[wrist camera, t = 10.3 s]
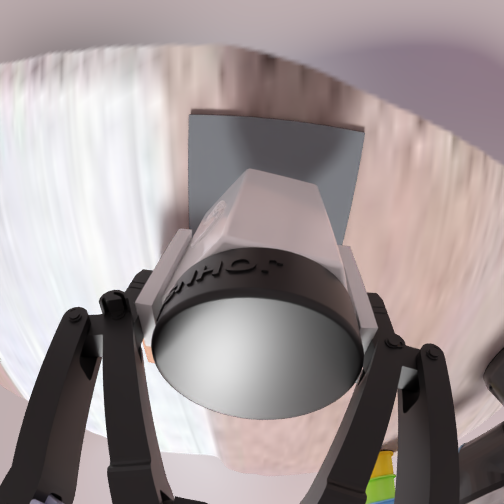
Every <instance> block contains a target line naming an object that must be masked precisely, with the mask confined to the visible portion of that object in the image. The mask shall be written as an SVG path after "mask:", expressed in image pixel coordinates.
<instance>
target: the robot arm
mask: <svg viewBox="0 0 504 504" xmlns="http://www.w3.org/2000/svg"><path fill="white" fill-rule="evenodd" d="M191 240H192V230H191V229H180V228H179V230H178V231H177V233H176V234H175V236H174V238H173V239H172V241H171V242H170V244H169V246H168V247H167V249H166V250H165V252H164V254H163V255H162V257H161V259H160V260H159V262H158V264H157V265H156V267H155V269H154V270H153V271H151V270H144V269H143V270H142V271H141V272H139V273H138V274H136V276H135V277H134V279H133V280H132V282H131V283H130V285H129V288H127V290H126V291H125V292H123V291H120V290H112V291H108V292H107V293H105V294H103V295H102V296H101V297H100V300H99V304H100V307H101V310H102V313H103V314H100V315H88V313H87V310H85V309H84V308H81V307H74V308H72V309H69V310H68V311H67V312H66V313H65V314H64V315H63V317H62V319H61V322H60V324H59V326H58V328H57V330H56V333H55V335H54V337H53V339H52V342H51V344H50V346H49V349H48V351H47V354H46V356H45V359H44V361H43V364H42V366H41V369H40V372H39V374H38V377H37V380H36V382H35V385H34V388H33V391H32V394H31V397H30V400H29V403H28V406H27V409H26V412H25V416H24V419H23V423H22V427H21V430H20V433H19V437H18V441H17V446H16V449H15V454H14V459H13V463H12V467H11V468H10V470H9V472H8V474H7V475H6V477H5V478H4V480H3V482H2V484H1V485H0V504H72V503H73V500H74V496H75V491H76V485H77V477H78V470H79V462H80V456H81V450H82V444H83V438H84V433H85V428H86V423H87V418H88V413H89V408H90V404H91V399H92V395H93V391H94V387H95V383H96V379H97V375H98V371H99V367H100V363H101V360H102V357H103V390H104V407H105V420H106V430H107V439H108V447H109V455H110V466H109V467H108V469H107V476H108V482H109V488H110V493H111V498H112V503H113V504H207V503H205V502H200V501H195V500H190V499H184V498H180V497H176V496H175V499H174V496H173V493H172V490H171V488H170V485H169V483H168V481H167V478H166V474H165V471H164V467H163V462H162V458H161V454H160V450H159V446H158V441H157V437H156V432H155V427H154V422H153V417H152V412H151V406H150V401H149V395H148V389H147V382H146V376H145V369H144V361H143V353H142V348H141V343H142V341H143V339H144V341H145V345H146V346H150V347H151V339H152V334H153V331H154V328H155V326H156V323H157V322H156V320H157V317H158V315H159V313H160V310H161V307H162V297H163V295H164V293H165V291H166V289H167V287H168V285H169V283H170V281H171V279H172V277H173V275H174V273H175V271H176V269H177V267H178V265H179V263H180V261H181V259H182V257H183V255H184V253H185V251H186V249H187V247H188V245H189V244H190V242H191ZM338 248H339V252H340V255H341V258H342V262H343V265H344V270H345V276H346V283H347V289H348V293H349V295H350V297H351V300H352V303H353V307H354V311H355V315H356V319H357V323H358V327H359V331H360V335H361V340H362V344H363V349H364V362H363V370H362V371H361V373H360V375H359V377H358V379H357V380H356V382H355V383H357V384H356V387H355V390H354V392H353V395H352V398H351V400H350V403H349V405H348V408H347V410H346V413H345V415H344V418H343V420H342V422H341V425H340V427H339V429H338V432H337V434H336V436H335V439H334V441H333V443H332V445H331V447H330V449H329V452H328V454H327V456H326V458H325V460H324V462H323V464H322V466H321V468H320V470H319V472H318V474H317V476H316V478H315V480H314V482H313V484H312V485H311V487H310V489H309V491H308V493H307V494H306V496H305V497H304V498H303V500H302V501H301V502H300V504H365V503H366V500H367V495H366V488H367V485H368V483H369V480H370V477H371V475H372V472H373V469H374V467H375V464H376V461H377V458H378V455H379V452H380V449H381V446H382V443H383V440H384V437H385V434H386V430H387V427H388V423H389V420H390V416H391V413H392V409H393V405H394V401H395V397H396V393H397V389H398V459H397V476H396V488H395V498H394V504H504V421H503V422H502V423H500V424H498V425H497V426H495V427H494V428H492V429H490V430H489V431H487V432H486V433H484V434H482V435H480V436H479V437H477V438H475V439H473V440H471V441H470V442H468V443H464V444H463V445H461V446H460V447H459V448H458V439H457V429H456V420H455V412H454V405H453V398H452V392H451V386H450V381H449V375H448V370H447V365H446V361H445V356H444V353H443V351H442V350H441V349H440V348H439V347H438V346H436V345H434V344H425V345H423V346H422V348H421V349H420V350H419V349H416V348H412V347H409V346H406V345H405V342H404V340H403V339H402V338H401V337H400V336H399V335H397V334H395V333H394V330H393V327H392V324H391V321H390V319H389V316H388V314H387V310H386V308H385V305H384V302H383V300H382V299H381V298H380V296H379V295H378V294H377V293H367V292H366V289H365V286H364V284H363V281H362V278H361V275H360V272H359V269H358V267H357V264H356V261H355V259H354V256H353V253H352V250H351V248H350V246H344V245H338ZM484 381H485V384H486V386H487V388H488V390H489V391H490V392H491V393H492V394H493V395H494V396H495V397H496V398H497V399H498V400H499V401H500V402H501V404H502V405H503V406H504V349H503V350H502V351H501V352H500V353H499V354H498V355H497V356H496V357H495V358H494V359H493V361H492V362H491V363H490V365H489V366H488V368H487V369H486V371H485V374H484Z"/></svg>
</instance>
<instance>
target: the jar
mask: <svg viewBox="0 0 504 504" xmlns="http://www.w3.org/2000/svg"><path fill="white" fill-rule="evenodd" d="M156 322H157V323H156V326H155V328H154V331H153V334H152V339H151V350H152V355H153V359H154V362H155V364H156V366H157V368H158V370H159V372H160V373H161V375H162V376H163V378H164V379H165V380H166V381H167V382H168V383H169V384H170V385H171V386H172V387H173V388H174V389H175V390H176V391H178V392H179V393H180V394H182V395H183V396H184V397H186V398H188V399H189V400H191V401H193V402H194V403H196V404H198V405H200V406H203V407H205V408H207V409H210V410H212V411H215V412H218V413H222V414H225V415H229V416H234V417H239V418H246V419H257V420H274V419H285V418H292V417H297V416H301V415H305V414H308V413H311V412H314V411H317V410H319V409H322V408H324V407H326V406H328V405H330V404H331V403H333V402H335V401H336V400H338V399H339V398H341V397H342V396H343V395H344V394H345V393H346V392H347V391H348V390H349V389H350V388H351V387H352V386H353V385H354V383H355V382H356V380H357V379H358V377H359V375H360V373H361V370H362V367H363V362H364V349H363V344H362V340H361V335H360V331H359V327H358V323H357V319H356V315H355V311H354V307H353V303H352V300H351V297H350V295H349V293H348V289H347V283H346V276H345V270H344V265H343V262H342V258H341V255H340V252H339V248H338V245H337V242H336V239H335V236H334V233H333V230H332V227H331V223H330V220H329V217H328V214H327V212H326V209H325V206H324V203H323V200H322V197H321V194H320V191H319V189H318V186H317V185H315V184H312V183H308V182H304V181H300V180H297V179H293V178H289V177H285V176H281V175H276V174H272V173H268V172H264V171H260V170H255V169H247V170H246V171H245V172H244V173H243V174H242V175H241V176H240V177H239V178H238V179H237V180H236V181H235V182H234V183H233V184H232V185H231V187H230V188H229V189H228V190H227V191H226V192H225V193H224V194H223V195H222V196H221V197H220V198H219V199H218V201H217V202H216V203H215V204H214V205H213V206H212V207H211V208H210V209H209V210H208V212H207V213H206V214H205V216H204V217H203V219H202V221H201V223H200V225H199V227H198V228H197V230H196V232H195V234H194V236H193V238H192V240H191V242H190V244H189V245H188V247H187V249H186V251H185V253H184V255H183V257H182V259H181V261H180V263H179V265H178V267H177V269H176V271H175V273H174V275H173V277H172V279H171V281H170V283H169V285H168V287H167V289H166V291H165V293H164V295H163V297H162V307H161V310H160V313H159V315H158V317H157V320H156Z"/></svg>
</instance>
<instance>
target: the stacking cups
mask: <svg viewBox="0 0 504 504" xmlns="http://www.w3.org/2000/svg"><path fill="white" fill-rule="evenodd" d="M392 455H393V452H392V451H380V452H379V455H378V458H377V461H376V464H375V467H374V469H373V472H372V475H371V477H370V480H369V483H368V485H367V488H366V495H367V500H366V503H365V504H394V498H395V486H394V478H395V477H396V475H395V474H393V466H392V458H391V456H392Z"/></svg>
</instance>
